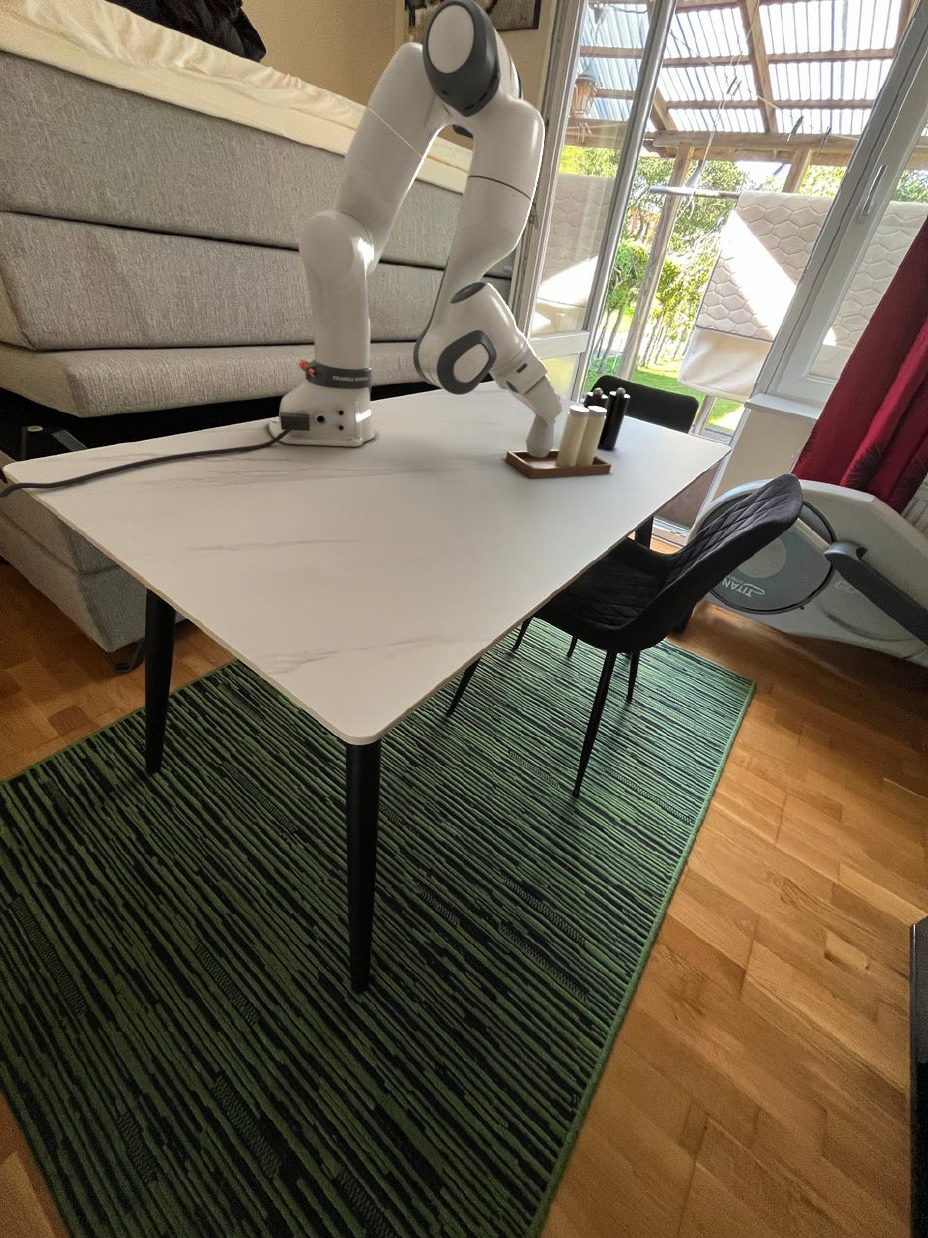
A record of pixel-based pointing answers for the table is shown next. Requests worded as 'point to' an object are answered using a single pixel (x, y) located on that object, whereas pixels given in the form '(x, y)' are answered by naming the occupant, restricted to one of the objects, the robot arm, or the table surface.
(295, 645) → the table surface
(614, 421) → the pepper mill
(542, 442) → the salt shaker
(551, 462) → the walnut tray
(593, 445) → the cream shaker
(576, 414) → the cream shaker
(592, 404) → the pepper mill
